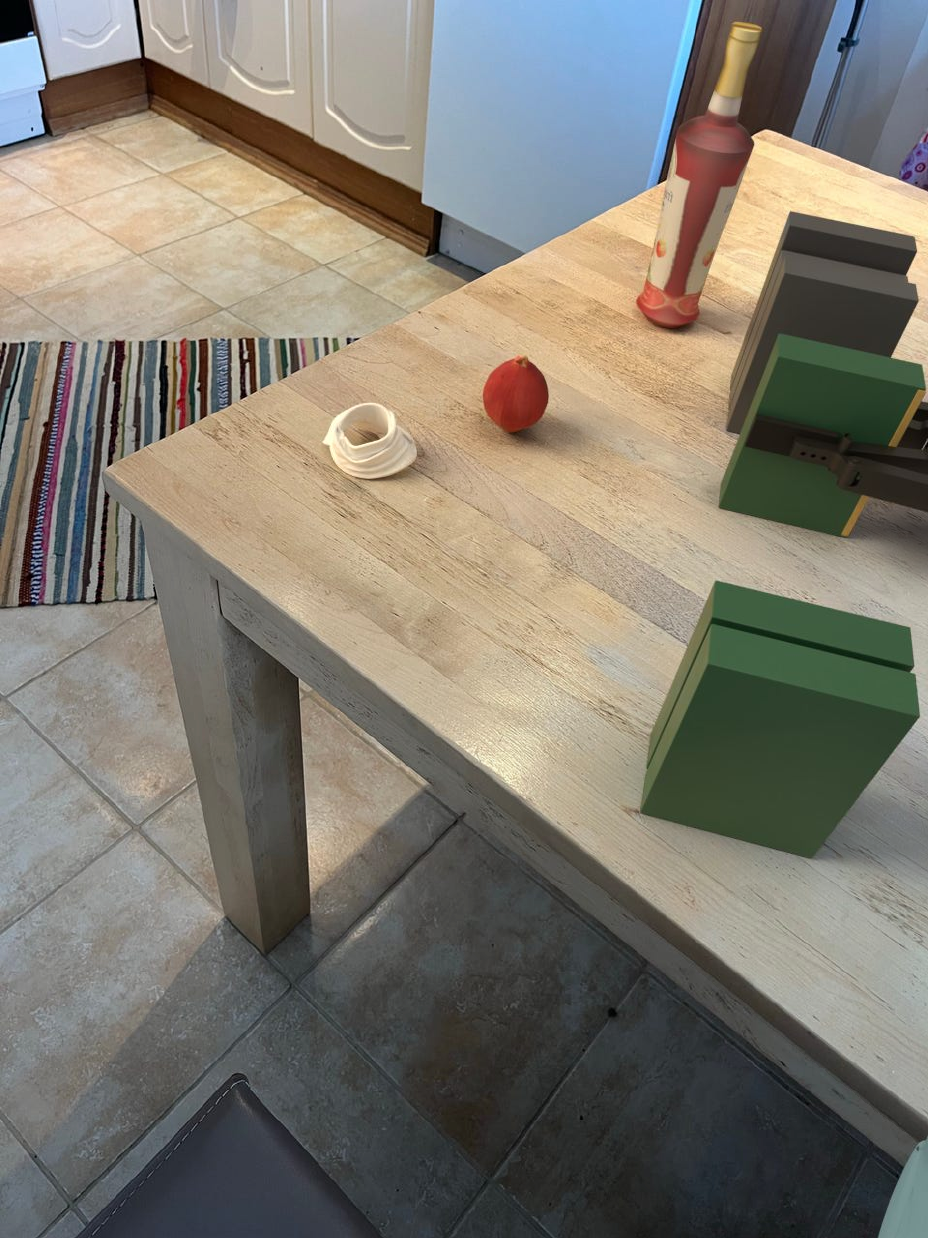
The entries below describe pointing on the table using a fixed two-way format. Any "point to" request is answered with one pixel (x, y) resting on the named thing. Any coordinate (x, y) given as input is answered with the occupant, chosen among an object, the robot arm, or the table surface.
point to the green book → (825, 398)
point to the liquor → (700, 191)
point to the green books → (778, 718)
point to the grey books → (826, 297)
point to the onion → (515, 394)
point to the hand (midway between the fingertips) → (752, 415)
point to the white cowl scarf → (374, 456)
